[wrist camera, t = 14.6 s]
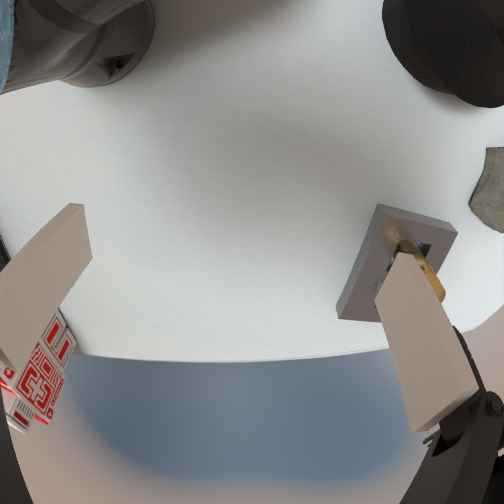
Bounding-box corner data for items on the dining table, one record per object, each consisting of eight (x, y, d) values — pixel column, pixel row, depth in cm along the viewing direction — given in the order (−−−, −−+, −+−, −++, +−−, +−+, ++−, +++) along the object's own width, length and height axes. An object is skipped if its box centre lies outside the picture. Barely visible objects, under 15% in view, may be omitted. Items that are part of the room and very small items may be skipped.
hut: (492, 101, 26) (563, 130, 14) (391, 94, 29) (458, 114, 17) (476, -11, 16) (544, -18, 4) (365, -34, 19) (415, -77, 7)
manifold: (377, 203, 38) (397, 233, 31) (449, 222, 39) (473, 251, 32) (335, 306, 49) (343, 341, 43) (401, 312, 50) (413, 344, 43)
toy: (85, 353, 65) (47, 448, 41) (65, 348, 65) (25, 437, 41) (51, 290, 52) (-13, 401, 28) (30, 287, 53) (-33, 387, 28)
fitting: (395, 232, 40) (426, 284, 31) (418, 237, 41) (450, 288, 31) (385, 256, 43) (411, 310, 33) (407, 260, 43) (435, 312, 33)
